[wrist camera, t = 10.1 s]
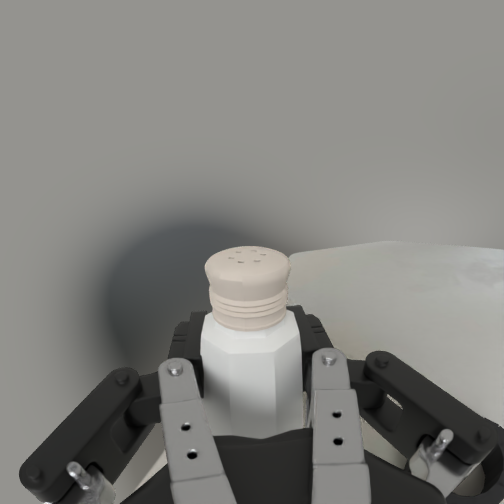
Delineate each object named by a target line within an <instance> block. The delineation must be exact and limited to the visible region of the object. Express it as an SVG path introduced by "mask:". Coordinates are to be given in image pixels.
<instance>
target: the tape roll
mask: <svg viewBox="0 0 504 504" xmlns="http://www.w3.org/2000/svg"><path fill="white" fill-rule="evenodd" d="M482 418H483V417H482ZM484 419H485V420H487V421H488V422H490V423H491V424H492V425H494V427H495V428H496V429H497V431H498V435H499V438H498V442H497V444H496V446H495V447H494V448H493V449H492V450H491V452H490V453H489V454H488V455H487V456H486V457H485V458H484V459H483V461H482V462H481V464H482V466H483V469H484V472H485V483H484V488H483V490H482V492H481V494H479V495H477V496H474V497H470V496H459V495H457V494H455V493H453V492H451V493H450V494H449V495H448V496H447V497H446V498H445V499H446V503H447V504H499V503H500V502H501V501H502V500H503V499H504V429H503V428H502V427H501V426H499V425H498V424H496V423H494V422H492V421H490V420H488V419H486V418H484ZM498 426H499V427H498ZM404 471H406V472H408V473H410V474H411V470H410V467H409V460H408V462H407V463H406V466H405V469H404Z"/></svg>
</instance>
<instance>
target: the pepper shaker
mask: <svg viewBox="0 0 504 504" xmlns="http://www.w3.org/2000/svg"><path fill="white" fill-rule="evenodd" d="M290 269H291V263H290V261H289V259H288V258H287V257H286V256H285V255H284V254H283V253H281V252H278V251H276V250H273V249H269V248H265V247H257V246H243V247H235V248H230V249H227V250H224V251H221V252H218V253H216V254H215V255H213V256H211V257H210V258H209V259H208V261H207V262H206V265H205V272H206V275H207V278H208V280H209V283H210V288H209V292H210V302H211V305H212V306H213V309H212V312H211V313H209V314H207V315H205V319H204V324H203V328H202V333H201V350H200V355H201V356H202V362H203V370H204V398H202V401H203V405H204V408H205V412H206V415H207V418H208V422H209V425H210V428H211V432H212V435H213V436H222V435H235V436H242V437H249V438H257V439H265V438H268V437H271V436H275V435H278V434H281V433H284V432H287V431H290V430H295V429H302V428H303V381H302V353H301V342H300V333H299V329H298V326H297V323H296V319H295V316H294V313H293V312H292V311H289V310H287V309H286V305H285V304H286V303H287V300H288V297H287V296H288V285H287V283H286V282H287V279H288V276H289V273H290Z"/></svg>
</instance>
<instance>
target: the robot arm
mask: <svg viewBox="0 0 504 504" xmlns="http://www.w3.org/2000/svg"><path fill="white" fill-rule="evenodd" d="M286 309H287V310H289V311H292V312H293V313H294V316H295V319H296V323H297V326H298V329H299V333H300V342H301V353H302V381H303V391H306V393H307V400H306V420H305V428H302V429H295V430H290V431H287V432H284V433H281V434H278V435H275V436H271V437H268V438H265V439H257V438H249V437H242V436H235V435H222V436H213V435H212V432H211V428H210V425H209V422H208V418H207V415H206V412H205V408H204V405H203V401H202V398H204V370H203V362H202V356H201V355H200V350H201V333H202V328H203V324H204V319H205V315H207V311H192V312H191V316H190V321H189V322H181V323H180V324H179V325H178V326H177V327H176V328H175V331H174V336H173V340H172V343H171V347H170V351H169V355H168V360H166V361H164V362H163V363H161V365H160V366H159V368H158V371H157V372H155V373H152V374H148V375H142V376H139V374H138V372H137V371H135V370H134V369H132V368H119V369H116V370H114V371H112V372H111V373H110V374H109V375H108V376H107V377H106V378H105V379H104V380H103V381H102V382H101V383H100V384H99V385H98V386H97V387H96V388H95V389H94V390H93V391H92V392H91V393H90V394H89V395H88V396H87V397H86V398H85V399H84V400H83V401H82V402H81V403H80V404H79V405H78V406H77V407H76V408H75V409H74V411H73V412H72V413H71V414H70V415H69V416H68V417H67V418H66V419H65V420H64V421H63V422H62V423H61V424H60V425H59V426H58V427H57V428H56V429H55V430H54V431H53V432H52V434H51V435H50V436H49V437H48V438H47V439H46V440H45V441H44V442H43V443H42V444H41V445H40V446H39V447H38V448H37V449H36V451H34V452H33V454H32V455H31V456H30V457H29V458H28V459H27V460H26V461H25V462H24V463H23V464H22V466H21V468H20V471H19V477H20V481H21V483H22V484H23V486H24V487H25V488H27V489H28V490H29V491H30V492H31V493H32V494H33V495H35V496H36V498H37V499H38V500H39V501H41V502H42V503H43V504H113V503H114V500H115V496H116V493H115V489H114V487H113V484H114V482H115V481H116V480H117V478H118V477H119V476H120V474H121V472H122V471H123V470H124V468H125V467H126V466H127V464H128V463H129V461H130V460H131V459H132V457H133V456H134V454H135V453H136V452H137V450H138V449H139V447H140V446H141V445H142V443H143V441H144V440H145V439H146V437H147V436H148V435H149V433H150V432H151V430H152V429H153V427H154V426H155V423H160V422H161V424H162V431H163V437H164V444H165V450H166V456H167V462H168V463H167V464H166V465H165V466H164V467H163V468H162V469H161V470H159V471H158V472H157V473H156V474H155V475H154V476H153V477H151V478H150V479H149V480H148V481H147V482H146V483H144V484H143V485H142V486H141V487H140V488H138V489H137V490H136V491H135V492H134V493H132V494H131V495H130V496H129V497H127V498H126V499H125V500H124V501H122V502H121V503H120V504H447V503H446V499H445V498H446V497H447V496H448V495H449V494H450V493H451V492H452V491H453V490H454V489H455V487H457V486H458V485H459V484H460V483H461V482H462V481H463V480H464V479H465V478H466V477H467V476H468V475H469V474H470V473H471V472H472V471H473V470H474V469H475V468H476V467H477V466H478V465H479V464H480V463H481V462H482V461H483V459H484V458H485V457H486V456H487V455H488V454H489V453H490V452H491V450H492V449H493V448H494V447H495V446H496V444H497V442H498V438H499V435H498V431H497V429H496V428H495V427H494V425H492V424H491V423H490V422H488V421H487V420H485V419H484V418H482V417H481V416H480V415H478V414H477V413H475V412H474V411H472V410H471V409H470V408H468V407H467V406H465V405H464V404H462V403H461V402H460V401H458V400H457V399H455V398H454V397H452V396H451V395H450V394H448V393H447V392H445V391H444V390H442V389H441V388H440V387H438V386H437V385H435V384H434V383H432V382H431V381H430V380H428V379H427V378H425V377H424V376H422V375H421V374H420V373H418V372H417V371H415V370H414V369H413V368H411V367H410V366H408V365H407V364H405V363H404V362H403V361H401V360H400V359H398V358H397V357H395V356H394V355H393V354H391V353H389V352H385V351H374V352H372V353H370V354H368V355H367V357H366V360H365V361H362V360H350V359H346V356H345V354H344V353H343V352H341V351H340V350H338V349H334V347H333V345H332V343H331V341H330V339H329V337H328V335H327V333H326V332H325V330H324V328H323V326H322V324H321V322H320V320H319V319H318V318H317V317H315V316H314V315H313V314H309V315H305V313H304V311H303V308H302V306H301V305H297V306H286ZM387 394H389V395H390V396H391V397H392V398H394V399H395V400H396V401H397V402H399V403H400V405H401V406H402V408H403V410H402V409H401V408H400V407H399V406H398V405H396V404H395V403H394V402H393V401H391V400H390V399H389V398H388V397H387ZM359 415H360V416H361V417H362V418H363V419H364V420H365V421H366V422H368V423H369V424H370V425H371V426H372V427H373V428H374V429H375V430H376V431H377V432H378V433H379V434H381V435H382V436H383V437H384V438H385V439H386V440H387V441H388V442H389V443H390V444H392V445H393V446H394V447H395V448H396V449H397V450H398V451H399V452H400V453H402V454H403V455H404V456H405V457H406V458H407V459H408V460H409V467H410V470H411V474H410V473H408V472H406V471H404V470H402V469H400V468H398V467H396V466H394V465H392V464H390V463H388V462H387V461H385V460H383V459H381V458H379V457H377V456H375V455H374V454H372V453H370V452H368V451H367V450H365V449H363V440H362V432H361V424H360V416H359Z"/></svg>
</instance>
